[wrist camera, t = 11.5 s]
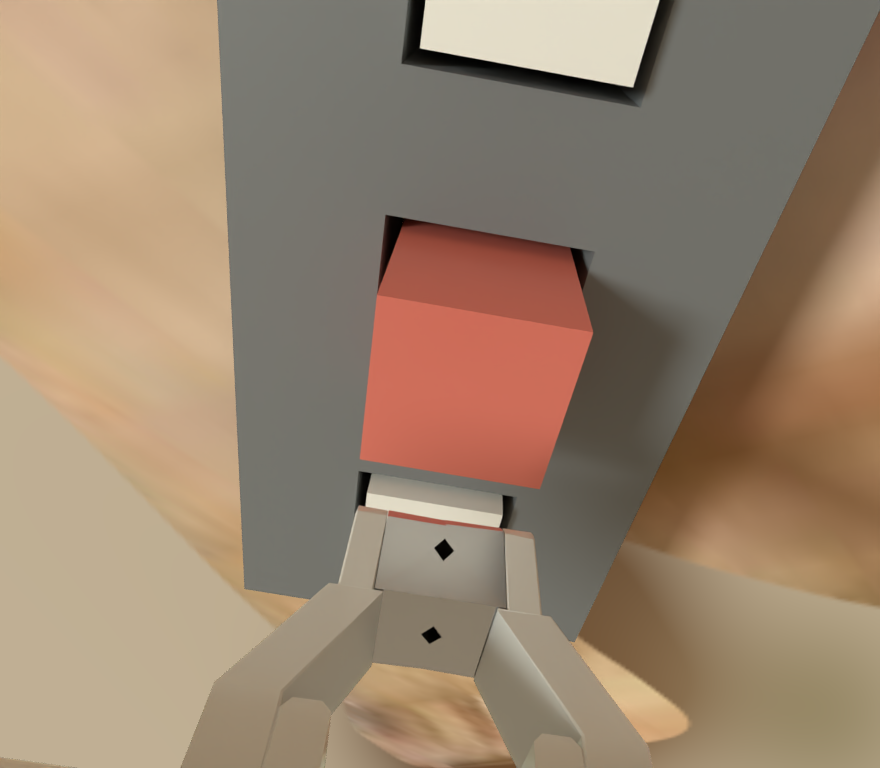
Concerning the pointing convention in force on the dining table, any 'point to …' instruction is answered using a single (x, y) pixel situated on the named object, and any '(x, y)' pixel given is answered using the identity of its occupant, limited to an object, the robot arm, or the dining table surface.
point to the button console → (504, 213)
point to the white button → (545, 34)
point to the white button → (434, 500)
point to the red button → (473, 354)
